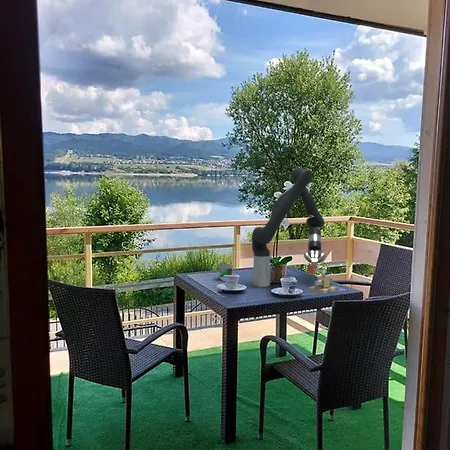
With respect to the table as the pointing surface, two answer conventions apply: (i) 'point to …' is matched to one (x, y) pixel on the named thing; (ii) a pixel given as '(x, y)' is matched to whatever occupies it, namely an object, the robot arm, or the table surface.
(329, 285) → the valve body
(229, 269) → the food container
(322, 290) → the mounting board
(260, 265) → the robot arm
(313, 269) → the valve lever
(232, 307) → the table surface
